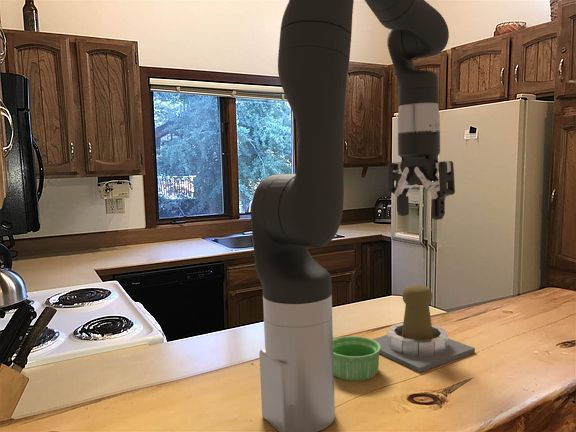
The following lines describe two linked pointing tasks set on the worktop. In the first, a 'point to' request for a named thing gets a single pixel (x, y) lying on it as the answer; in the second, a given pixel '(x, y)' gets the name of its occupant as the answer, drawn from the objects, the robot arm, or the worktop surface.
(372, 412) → the worktop surface
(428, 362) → the fitting mat
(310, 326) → the robot arm
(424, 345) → the ring collar
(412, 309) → the cork
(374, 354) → the ramekin
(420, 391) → the worktop surface
